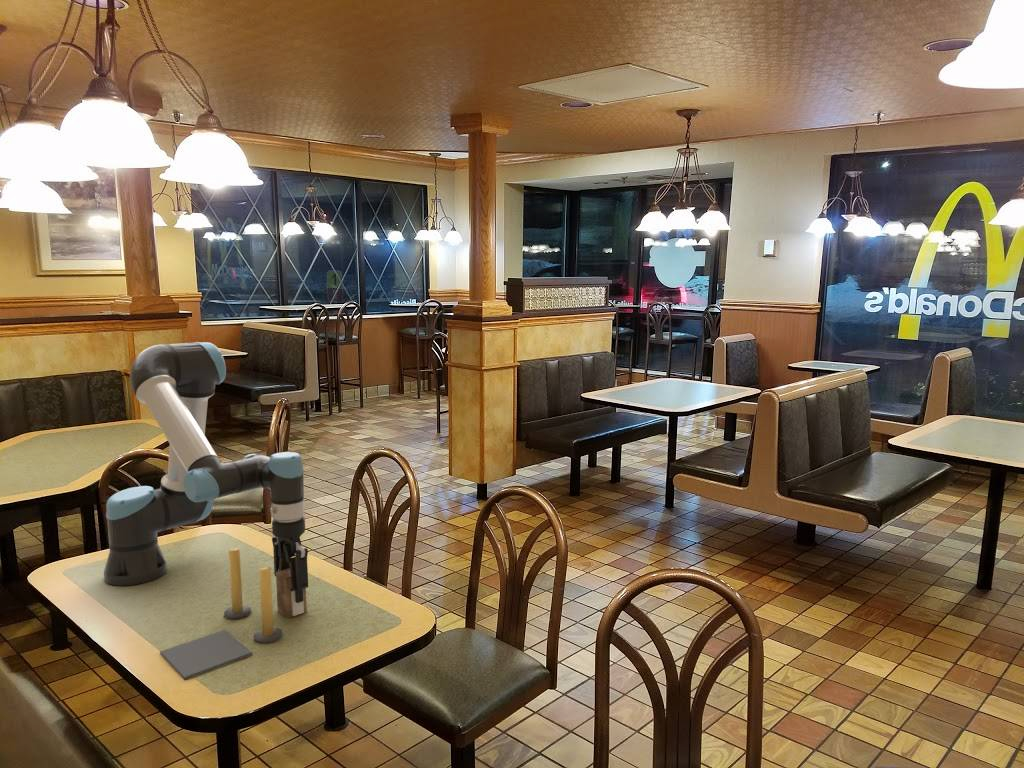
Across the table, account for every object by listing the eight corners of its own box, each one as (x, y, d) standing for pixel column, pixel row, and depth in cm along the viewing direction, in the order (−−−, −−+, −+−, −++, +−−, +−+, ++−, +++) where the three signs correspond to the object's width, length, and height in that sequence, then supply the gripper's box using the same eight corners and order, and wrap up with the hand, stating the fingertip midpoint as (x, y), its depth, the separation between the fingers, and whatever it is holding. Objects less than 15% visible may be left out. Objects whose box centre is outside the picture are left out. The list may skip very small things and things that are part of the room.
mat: (160, 654, 152) (160, 651, 152) (225, 632, 162) (224, 629, 162) (184, 679, 142) (184, 677, 142) (252, 654, 152) (252, 652, 152)
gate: (220, 613, 171) (216, 549, 169) (244, 605, 175) (241, 543, 173) (261, 646, 156) (257, 576, 153) (286, 637, 160) (283, 569, 158)
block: (277, 611, 172) (275, 571, 171) (296, 604, 176) (295, 566, 175) (287, 618, 169) (285, 577, 168) (306, 611, 172) (305, 572, 171)
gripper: (256, 512, 173) (260, 602, 176) (292, 530, 160) (296, 627, 163) (285, 505, 178) (288, 593, 181) (321, 523, 165) (325, 617, 169)
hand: (292, 609), depth 172 cm, fingers closed on block, 5 cm apart
